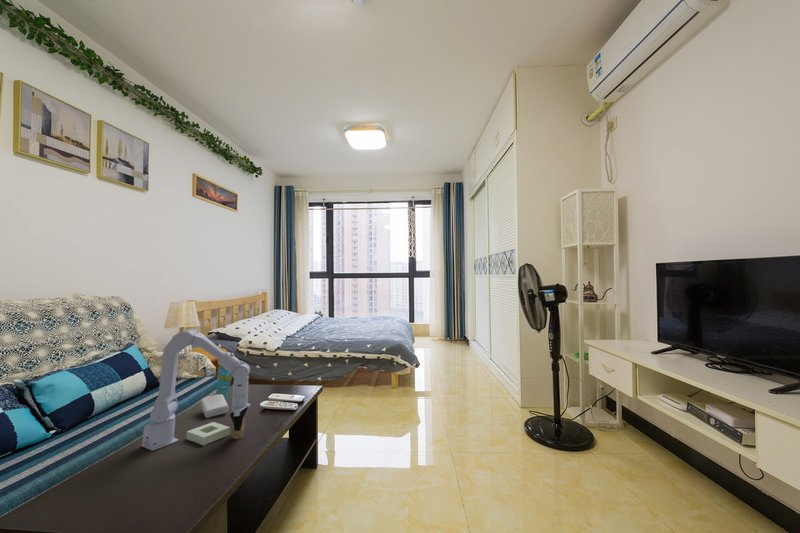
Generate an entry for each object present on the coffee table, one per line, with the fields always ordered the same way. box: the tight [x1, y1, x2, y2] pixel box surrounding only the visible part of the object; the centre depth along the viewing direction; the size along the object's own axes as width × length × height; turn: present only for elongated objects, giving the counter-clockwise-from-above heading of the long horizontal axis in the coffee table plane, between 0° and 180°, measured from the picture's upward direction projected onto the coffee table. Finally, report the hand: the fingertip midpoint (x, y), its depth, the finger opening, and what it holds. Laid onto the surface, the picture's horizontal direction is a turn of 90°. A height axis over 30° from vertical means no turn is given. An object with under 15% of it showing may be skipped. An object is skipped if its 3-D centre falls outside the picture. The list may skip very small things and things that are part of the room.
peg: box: [232, 412, 245, 440], centre depth 135 cm, size 4×4×9 cm
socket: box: [186, 421, 231, 446], centre depth 134 cm, size 11×11×3 cm
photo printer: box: [200, 394, 230, 419], centre depth 159 cm, size 10×4×12 cm
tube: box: [215, 366, 233, 401], centre depth 169 cm, size 7×5×19 cm, turn 123°
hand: (238, 428), depth 135 cm, fingers closed on peg, 4 cm apart
